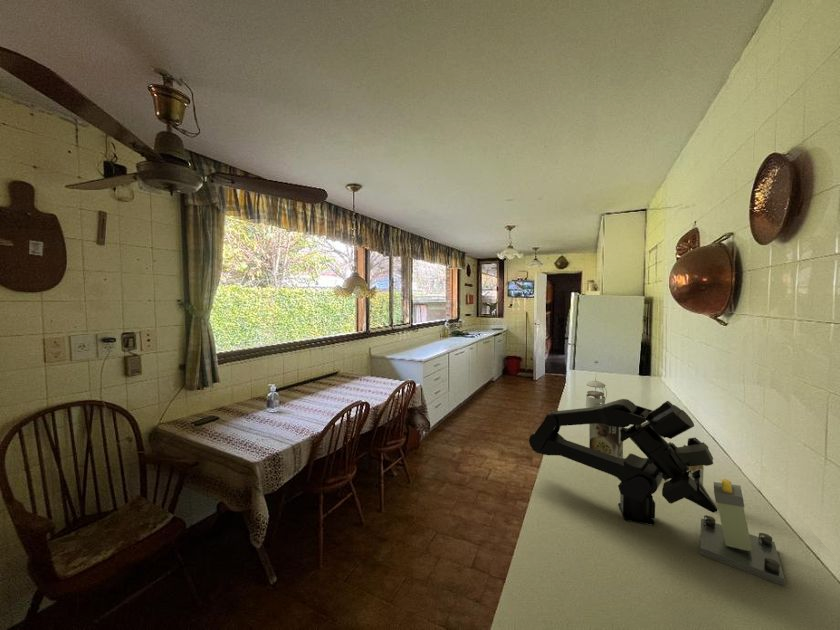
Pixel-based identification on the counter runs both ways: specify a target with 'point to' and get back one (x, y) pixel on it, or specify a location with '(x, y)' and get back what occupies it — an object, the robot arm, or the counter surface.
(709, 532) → the plate
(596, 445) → the coffee box
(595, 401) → the french press
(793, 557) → the counter surface
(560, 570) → the counter surface
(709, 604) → the counter surface
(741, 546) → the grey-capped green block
